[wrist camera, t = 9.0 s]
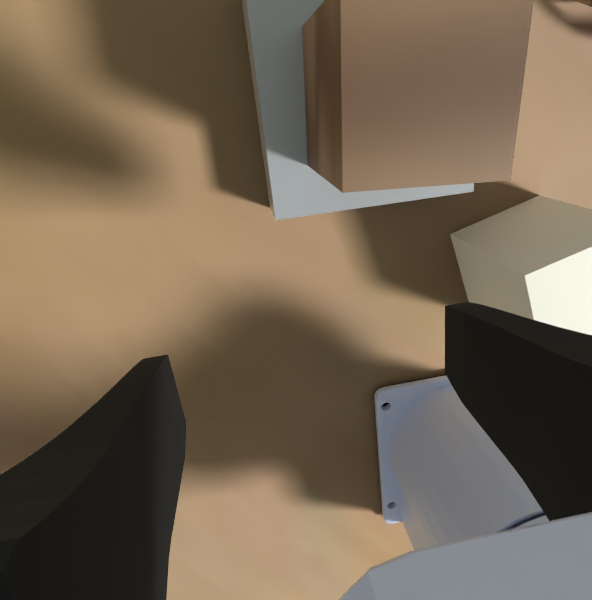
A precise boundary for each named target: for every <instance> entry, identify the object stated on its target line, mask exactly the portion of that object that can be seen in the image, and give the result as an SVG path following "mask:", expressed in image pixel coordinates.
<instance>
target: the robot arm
mask: <svg viewBox="0 0 592 600" xmlns="http://www.w3.org/2000/svg"><path fill="white" fill-rule="evenodd" d="M445 374H446V375H445V376H440V377H435V378H429V379H424V380H419V381H413V382H408V383H403V384H397V385H392V386H387V387H382V388H380V389H378V390H377V391H376V393H375V396H374V399H375V413H376V428H377V442H378V457H379V471H380V486H381V500H382V515H383V518H384V520H385V522H386V523H389V524H392V523H397V522H403V525H404V527H405V529H406V532H407V534H408V536H409V539H410V541H411V543H412V546H413V548H414V550H415V551H410V552H408V553H405V554H403V555H401V556H398V557H396V558H393V559H391V560H389V561H386V562H384V563H381V564H379V565H376V566H374V567H372V568H370V569H369V570H368V571H367V572H366V573H365V574H364V575H363V576H362V577H361V578H360V579H359V580H358V581H357V582H356V583H355V584H354V585H353V586H352V587H351V588H350V589H349V590H348V591H347V592H346V593H345V594H344V595H343V596H342V597H341V598H340V599H339V600H592V335H589V334H584V333H580V332H576V331H572V330H568V329H564V328H561V327H557V326H553V325H550V324H546V323H543V322H539V321H536V320H532V319H529V318H526V317H522V316H519V315H516V314H513V313H509V312H506V311H503V310H499V309H496V308H492V307H489V306H485V305H481V304H477V303H471V302H465V303H459V304H453V305H448V306H445ZM384 403H388V404H387V405H386V406H384V407H382V405H383V404H384ZM185 439H186V421H185V417H184V413H183V409H182V406H181V402H180V398H179V394H178V391H177V387H176V383H175V380H174V376H173V372H172V368H171V365H170V361H169V357H168V355H163V356H157V357H152V358H146V359H143V360H141V361H140V362H139V363H138V364H136V365H135V366H134V367H133V368H132V369H131V370H130V371H129V372H128V373H127V374H126V375H125V376H124V377H123V378H122V379H121V380H120V381H119V382H118V383H117V384H116V385H115V386H114V387H113V388H112V389H111V390H110V391H109V392H107V393H106V394H105V395H104V396H103V397H102V398H101V399H100V400H99V401H98V402H97V403H96V404H95V405H94V406H92V407H91V408H90V409H89V410H88V411H87V412H86V413H84V414H83V415H82V416H81V417H80V418H79V419H78V420H76V421H75V422H74V423H73V424H72V425H71V426H70V427H68V428H67V429H66V430H65V431H63V432H62V433H61V434H60V435H58V436H57V437H56V438H54V439H53V440H52V441H50V442H49V443H48V444H46V445H45V446H43V447H42V448H41V449H39V450H38V451H37V452H35V453H34V454H32V455H31V456H29V457H28V458H27V459H25V460H24V461H22V462H20V463H19V464H17V465H16V466H14V467H12V468H11V469H9V470H8V471H6V472H4V473H3V474H1V475H0V600H166V593H167V577H168V561H169V552H170V544H171V536H172V530H173V525H174V519H175V513H176V507H177V501H178V495H179V490H180V484H181V478H182V471H183V465H184V459H185ZM391 502H392V503H391ZM389 503H390V504H389Z"/></svg>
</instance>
